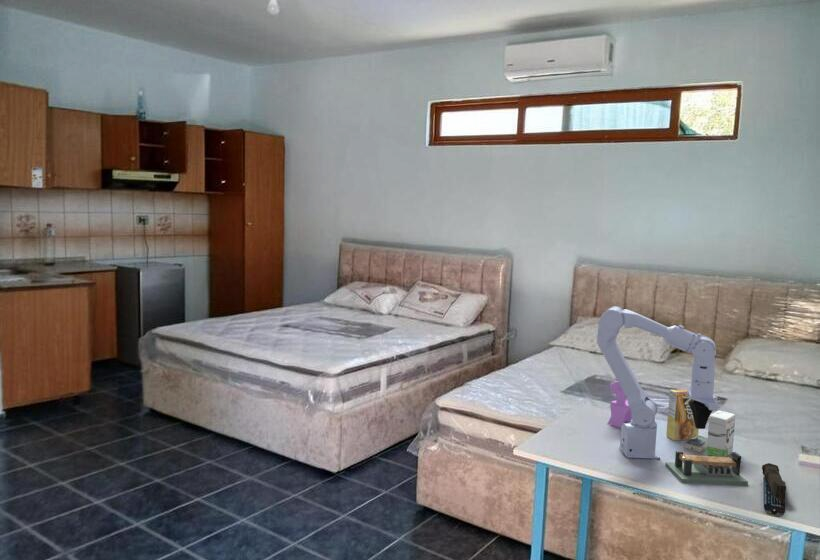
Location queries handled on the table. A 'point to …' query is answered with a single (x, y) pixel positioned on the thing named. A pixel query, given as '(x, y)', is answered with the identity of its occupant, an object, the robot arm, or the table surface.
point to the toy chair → (619, 407)
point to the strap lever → (708, 460)
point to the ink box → (720, 434)
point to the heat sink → (710, 467)
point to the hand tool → (775, 481)
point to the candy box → (680, 416)
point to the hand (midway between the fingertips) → (700, 428)
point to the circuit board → (700, 478)
